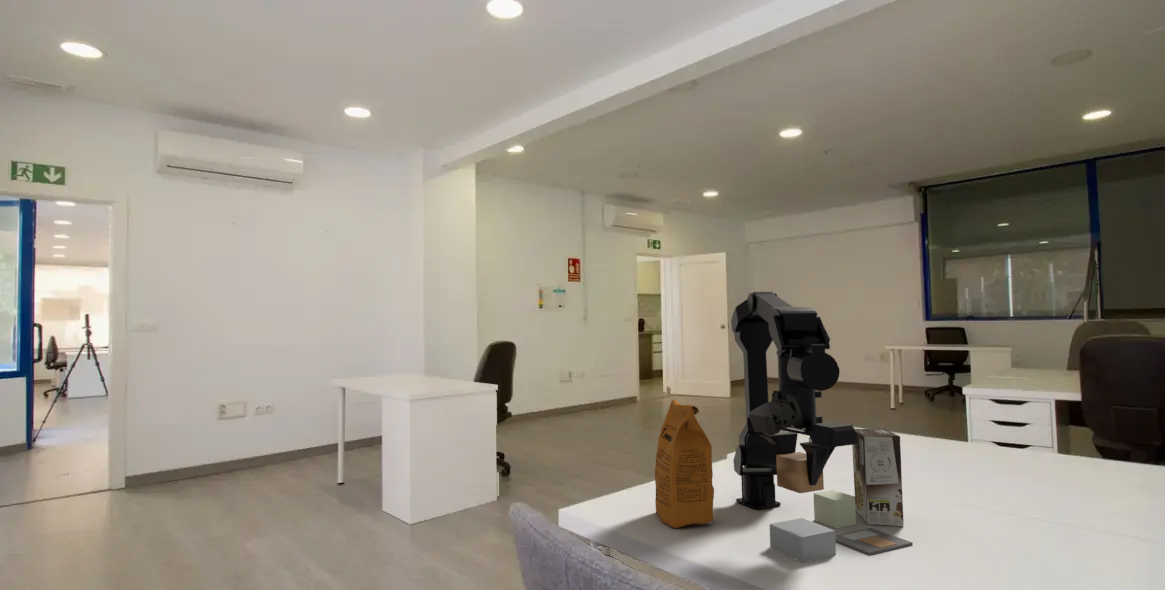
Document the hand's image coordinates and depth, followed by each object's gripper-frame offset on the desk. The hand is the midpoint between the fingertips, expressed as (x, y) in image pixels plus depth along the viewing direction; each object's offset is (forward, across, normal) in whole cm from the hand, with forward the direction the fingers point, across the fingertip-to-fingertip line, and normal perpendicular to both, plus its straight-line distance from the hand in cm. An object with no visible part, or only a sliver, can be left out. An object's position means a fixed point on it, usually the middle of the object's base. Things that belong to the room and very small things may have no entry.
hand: (799, 481), depth 94 cm
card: (+11, +2, +13) cm, 17 cm away
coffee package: (+11, -22, -8) cm, 26 cm away
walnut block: (+1, 0, 0) cm, 1 cm away
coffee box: (+11, -6, +25) cm, 28 cm away
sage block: (+11, -8, +16) cm, 21 cm away
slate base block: (+11, 0, 0) cm, 11 cm away
